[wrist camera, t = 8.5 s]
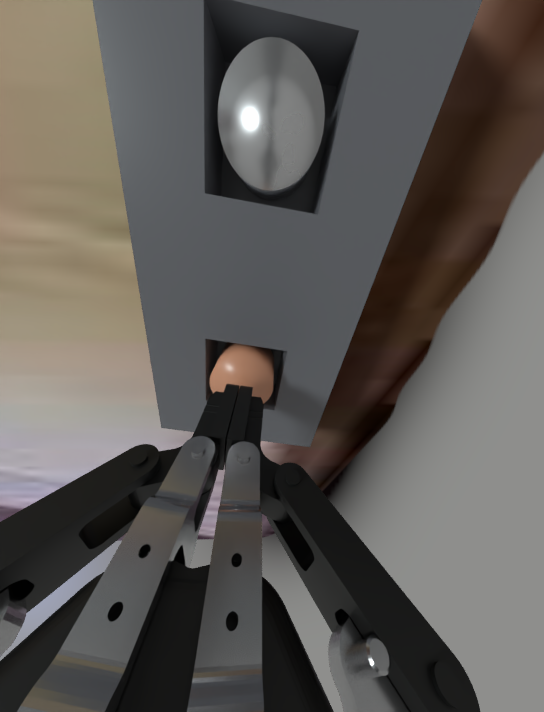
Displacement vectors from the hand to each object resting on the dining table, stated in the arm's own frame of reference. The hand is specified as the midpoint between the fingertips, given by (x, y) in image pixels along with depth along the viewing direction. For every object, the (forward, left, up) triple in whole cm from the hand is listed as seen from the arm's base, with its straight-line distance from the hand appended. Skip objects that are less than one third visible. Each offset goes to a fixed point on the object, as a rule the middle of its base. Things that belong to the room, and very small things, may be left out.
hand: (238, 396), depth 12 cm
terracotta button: (0, 0, -4) cm, 4 cm away
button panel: (-6, 0, -6) cm, 8 cm away
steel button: (-12, 0, -5) cm, 13 cm away
